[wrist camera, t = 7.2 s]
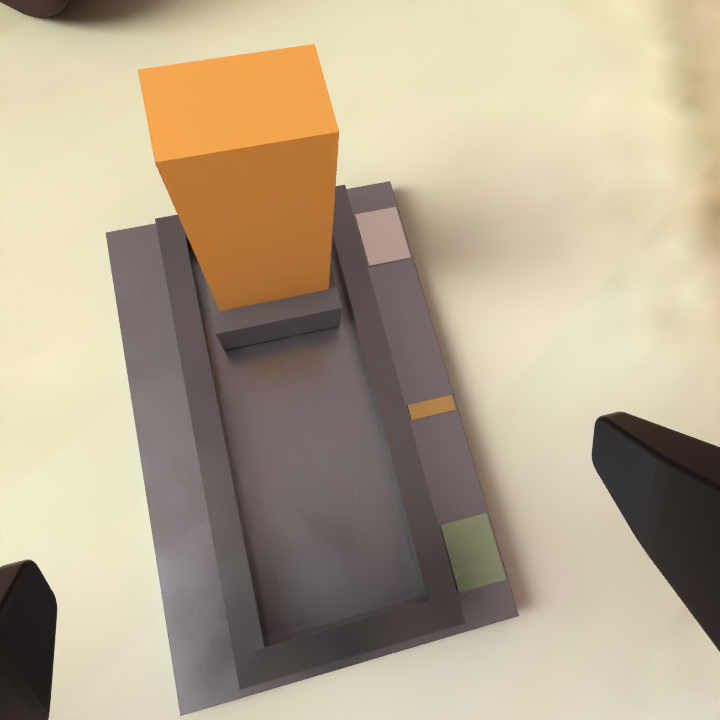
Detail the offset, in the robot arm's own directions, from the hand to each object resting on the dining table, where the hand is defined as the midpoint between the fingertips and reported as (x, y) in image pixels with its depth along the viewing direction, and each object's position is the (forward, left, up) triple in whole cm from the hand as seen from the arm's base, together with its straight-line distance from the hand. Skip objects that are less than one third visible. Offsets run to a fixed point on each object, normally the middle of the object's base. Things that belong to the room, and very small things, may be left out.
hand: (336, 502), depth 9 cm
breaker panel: (+3, -3, -13) cm, 14 cm away
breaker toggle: (+6, -7, -13) cm, 15 cm away
